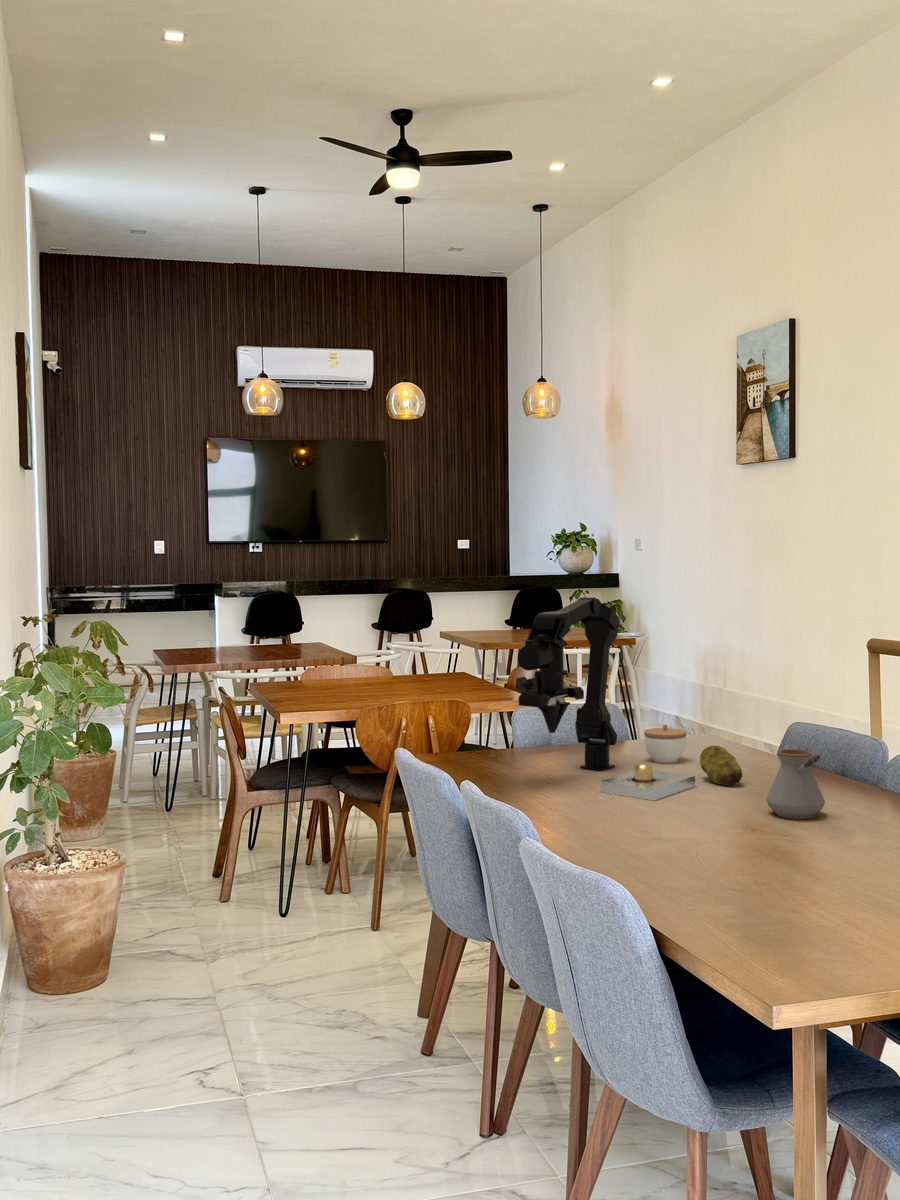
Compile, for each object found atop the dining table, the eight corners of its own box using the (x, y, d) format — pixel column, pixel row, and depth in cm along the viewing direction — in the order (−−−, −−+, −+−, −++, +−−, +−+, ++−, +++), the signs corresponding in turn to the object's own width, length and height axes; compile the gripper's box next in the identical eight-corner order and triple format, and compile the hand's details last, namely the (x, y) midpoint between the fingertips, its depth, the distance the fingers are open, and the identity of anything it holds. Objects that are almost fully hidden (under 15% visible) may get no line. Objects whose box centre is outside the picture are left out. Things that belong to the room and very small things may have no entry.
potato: (707, 788, 248) (707, 753, 248) (697, 776, 261) (697, 743, 260) (744, 787, 248) (744, 753, 247) (732, 776, 260) (732, 743, 260)
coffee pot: (759, 808, 228) (759, 737, 227) (814, 807, 228) (814, 736, 227) (789, 834, 207) (789, 756, 206) (849, 833, 206) (849, 755, 206)
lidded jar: (690, 764, 275) (690, 728, 275) (648, 765, 275) (647, 728, 275) (681, 756, 286) (681, 721, 286) (641, 757, 286) (641, 721, 286)
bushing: (640, 788, 249) (640, 762, 249) (655, 790, 246) (655, 764, 246) (631, 791, 246) (631, 765, 246) (646, 793, 243) (646, 767, 243)
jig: (642, 778, 259) (642, 768, 259) (695, 786, 250) (695, 775, 250) (600, 792, 245) (600, 781, 245) (654, 800, 236) (654, 789, 236)
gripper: (547, 661, 266) (547, 724, 267) (499, 668, 252) (500, 734, 253) (584, 663, 259) (585, 728, 260) (538, 671, 245) (539, 739, 246)
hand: (552, 732), depth 255 cm, fingers closed
